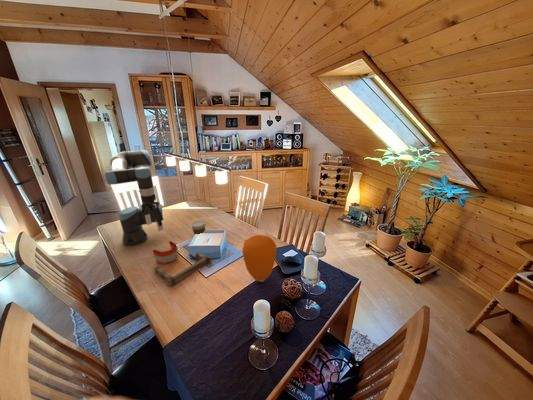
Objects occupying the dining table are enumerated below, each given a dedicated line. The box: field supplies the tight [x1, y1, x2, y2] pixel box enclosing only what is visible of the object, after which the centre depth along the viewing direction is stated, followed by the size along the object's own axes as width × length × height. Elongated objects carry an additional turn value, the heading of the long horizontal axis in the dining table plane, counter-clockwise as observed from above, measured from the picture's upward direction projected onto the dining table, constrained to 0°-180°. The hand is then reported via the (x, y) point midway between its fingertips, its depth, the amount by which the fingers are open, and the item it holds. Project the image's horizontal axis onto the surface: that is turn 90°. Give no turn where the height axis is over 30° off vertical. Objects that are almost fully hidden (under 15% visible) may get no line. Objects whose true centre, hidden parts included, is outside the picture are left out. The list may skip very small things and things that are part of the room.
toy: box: [152, 240, 179, 265], centre depth 136 cm, size 12×10×8 cm
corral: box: [153, 253, 212, 288], centre depth 128 cm, size 17×26×4 cm, turn 143°
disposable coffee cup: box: [190, 220, 206, 235], centre depth 157 cm, size 10×10×12 cm
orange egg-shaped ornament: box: [242, 234, 278, 283], centre depth 115 cm, size 17×17×25 cm
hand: (154, 227), depth 137 cm, fingers open, 12 cm apart
